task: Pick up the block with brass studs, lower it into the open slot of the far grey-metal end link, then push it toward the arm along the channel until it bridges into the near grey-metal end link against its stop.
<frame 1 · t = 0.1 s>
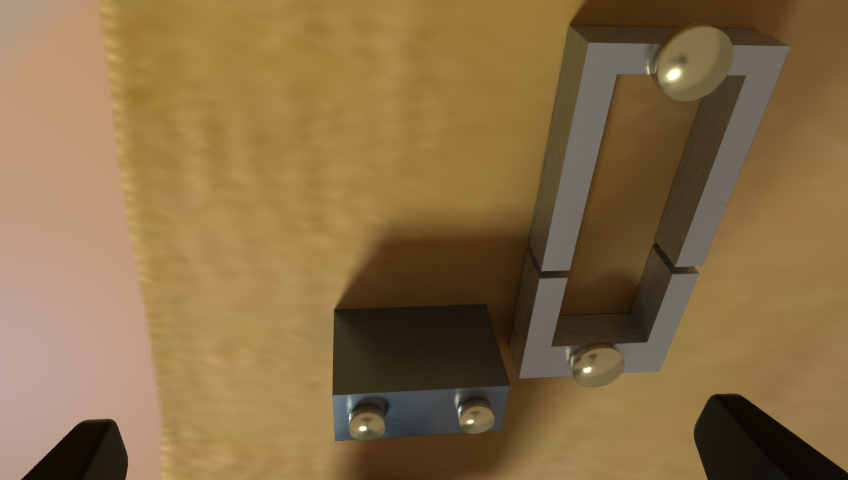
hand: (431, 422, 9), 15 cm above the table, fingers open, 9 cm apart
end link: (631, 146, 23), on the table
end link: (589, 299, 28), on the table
block with brass studs: (409, 328, 28), on the table
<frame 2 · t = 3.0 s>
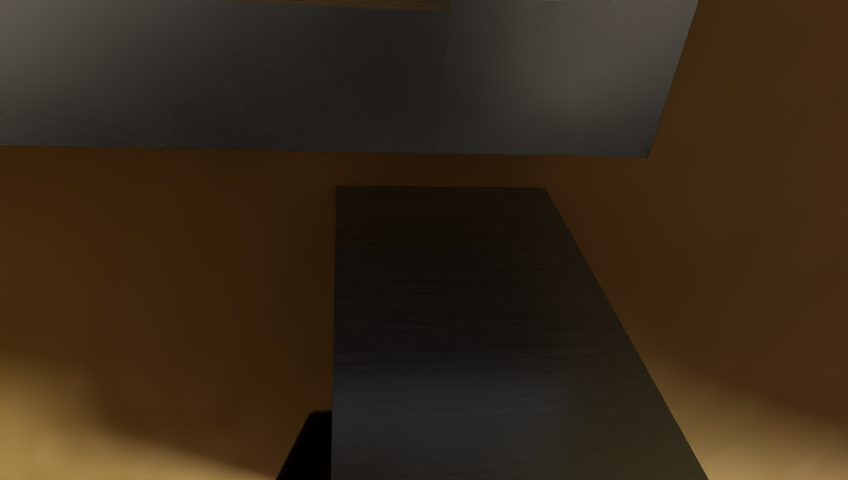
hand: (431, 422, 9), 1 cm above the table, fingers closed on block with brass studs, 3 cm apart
block with brass studs: (423, 371, 10), on the table, touching gripper
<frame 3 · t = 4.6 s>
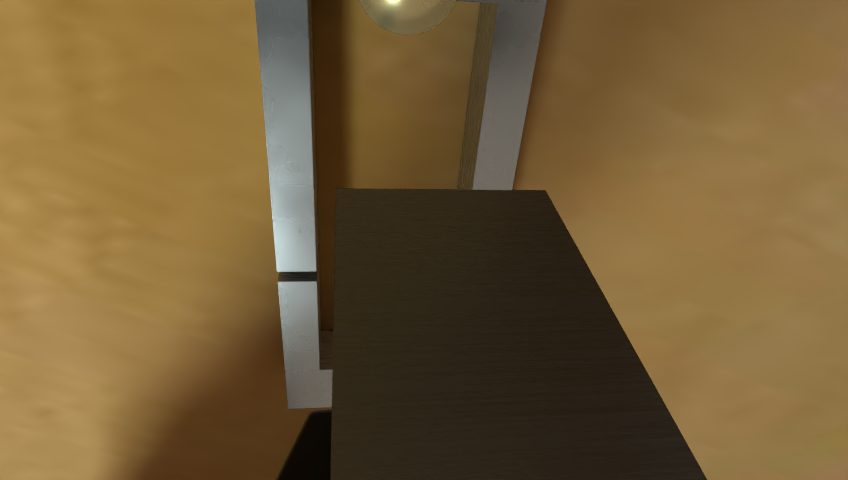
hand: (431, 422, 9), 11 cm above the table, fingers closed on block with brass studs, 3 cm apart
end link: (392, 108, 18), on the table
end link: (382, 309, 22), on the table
block with brass studs: (423, 373, 10), point 10 cm above the table, touching gripper
when the fingers open (3 cm above the table, at t = 6.3 s): block with brass studs stays where it is, resting on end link.
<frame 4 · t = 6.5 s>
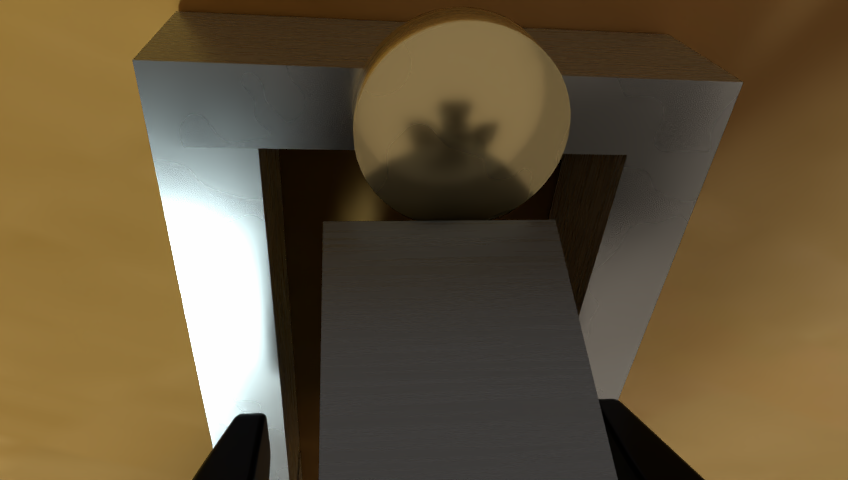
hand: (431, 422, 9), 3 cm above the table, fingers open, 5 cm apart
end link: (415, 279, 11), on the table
block with brass studs: (415, 338, 10), point 1 cm above the table, tilted 22°, touching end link
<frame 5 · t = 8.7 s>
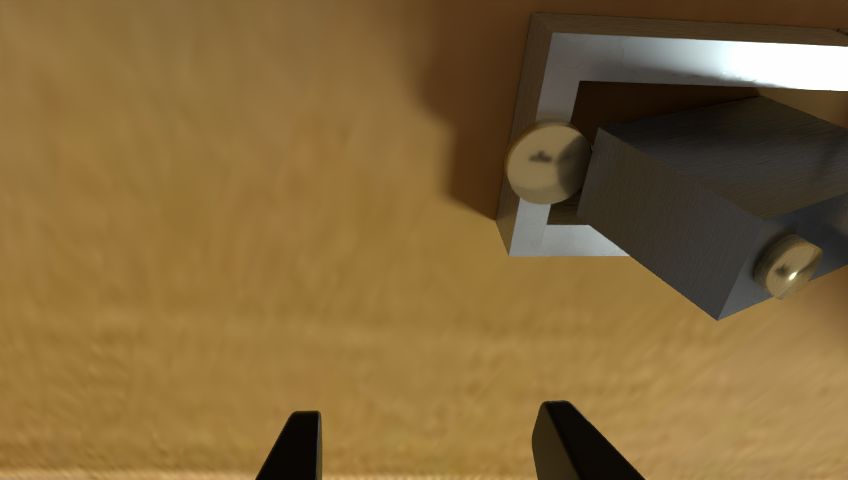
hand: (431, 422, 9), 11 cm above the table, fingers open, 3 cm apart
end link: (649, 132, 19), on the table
block with brass studs: (672, 153, 18), point 1 cm above the table, tilted 22°, touching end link
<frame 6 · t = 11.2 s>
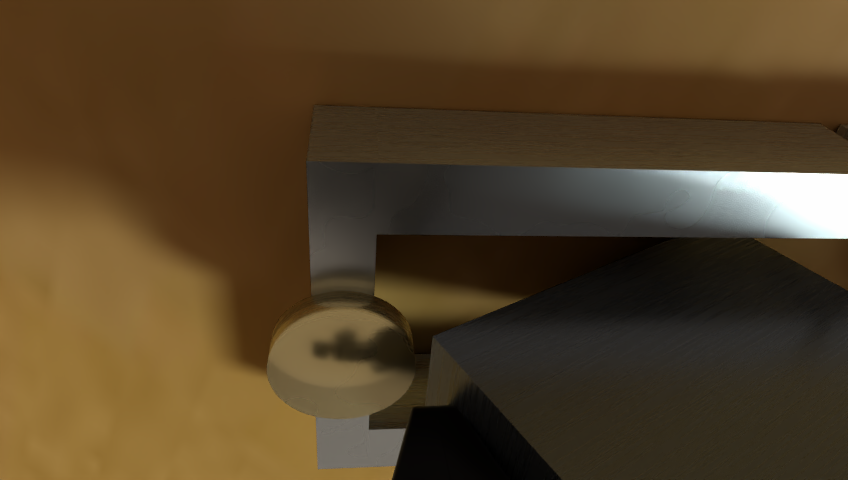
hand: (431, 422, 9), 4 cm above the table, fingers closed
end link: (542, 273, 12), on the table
block with brass studs: (581, 327, 11), point 2 cm above the table, tilted 27°, touching gripper
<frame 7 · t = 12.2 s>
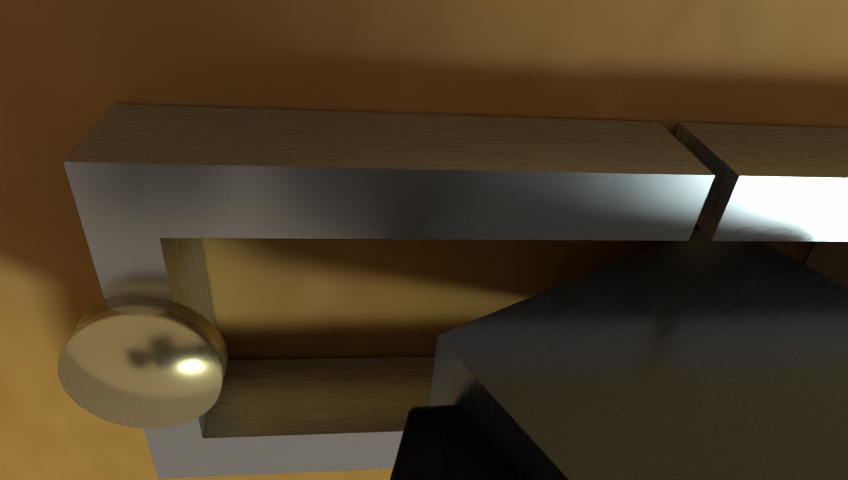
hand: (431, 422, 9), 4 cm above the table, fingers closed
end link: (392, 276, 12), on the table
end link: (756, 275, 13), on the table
block with brass studs: (584, 327, 11), point 2 cm above the table, tilted 27°, touching gripper
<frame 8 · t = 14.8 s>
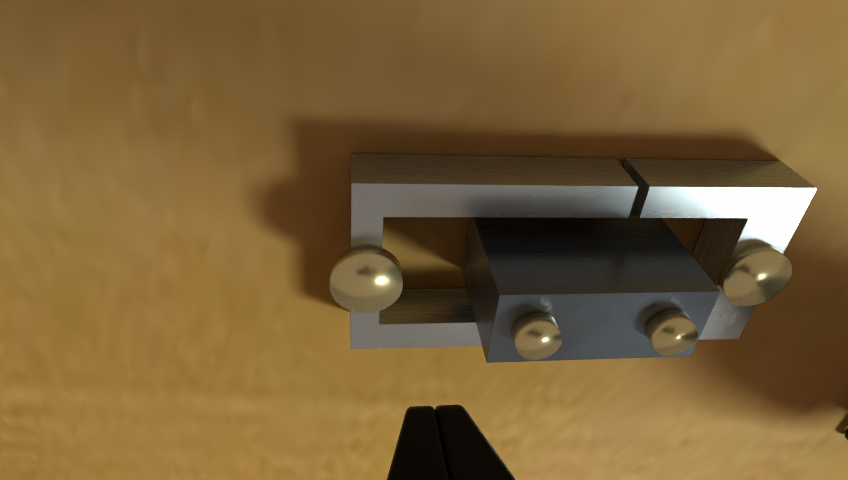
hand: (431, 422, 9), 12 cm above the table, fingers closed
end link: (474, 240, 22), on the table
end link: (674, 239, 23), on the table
block with brass studs: (554, 237, 22), on the table
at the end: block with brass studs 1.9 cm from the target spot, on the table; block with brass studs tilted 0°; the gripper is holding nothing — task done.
